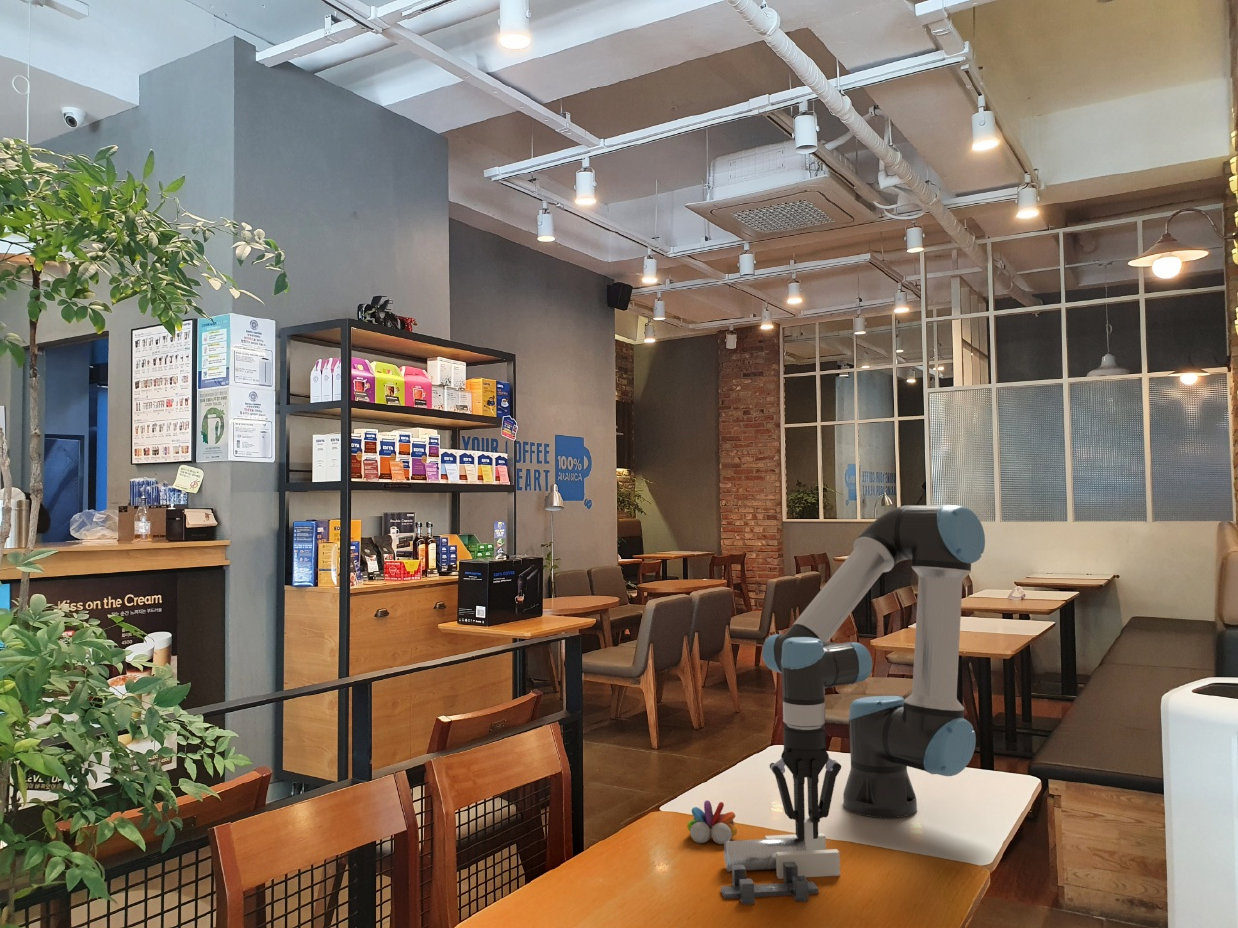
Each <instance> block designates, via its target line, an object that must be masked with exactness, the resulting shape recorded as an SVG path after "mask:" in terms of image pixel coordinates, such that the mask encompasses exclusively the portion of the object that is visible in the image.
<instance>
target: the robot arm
mask: <svg viewBox="0 0 1238 928" xmlns="http://www.w3.org/2000/svg"><path fill="white" fill-rule="evenodd" d="M985 547H986V537H985V531H984V527H983V525H982V522H981V520H980V519H979V518H978V516H977V514H976V513H975V512H974V511H973V510H972V509H970V508H969V507H966V506H963V505H954V504H953V505H952V504H934V505H933V504H932V505H931V504H930V505H929V504H927V505H925V504H924V505H914V504H911V505H909V504H908V505H902V506H897V507H895V508H893V509H890V510H888V511H887V512H885V513H884V514H882V515H880V516H879V517H878V518H876V519H875V520H874V521H872V523H870V524H869V526H867V527H866V528H865V529H864V530H863V531H862V532H861V534H860V535H858V537H857V538H856V539H855V540H854V543H853V551H852V552H851V553H850V554H849V555H848V556H847V558H846V559H845V560H844V561H843V562H842V564H841V565H840V567H839V568H838V569H837V570H836V571H835V572H834V573H833V574H832V576H831V577H830V578H829V580H828V581H827V582H826V583H825V585H823V587H822V589H820V591H819V592H818V593H817V594H816V595H815V596H814V598H813V599H812V600H811V602H810V603H809V604H808V605H807V606H806V607H805V609H804V610H803V611H802V613H800V615H799V616H798V618H797V619H796V620H795V621H794V622H793V624H792V625H791V627H789V629H787V631H786V632H785V634H784V633H779V634H778V633H776V634H772V635H770V636H768V637H767V638H766V639H765V641H764V643H763V646H762V651H761V653H762V654H761V656H762V660H763V663H764V664H765V666H766V668H768V669H769V670H771V671H774V672H776V673H779V674H781V680H782V681H781V683H782V684H781V685H782V686H781V687H782V717H783V718H782V721H783V723H784V725H783V727H782V729H783V731H782V733H783V750H782V752H781V756H780V757H781V758H780V759H779V760H777V761H776V762H770V764H769V769H770V770H771V772H772V773H773V774H774V776H775V780H776V784H777V788H778V792H779V795H780V798H781V799H780V800H781V803H782V807H783V811H784V813H785V815H786V816H787V817H788V818H789V819H790V820H795V821H794V822H795V823H794V824H795V825H794V826H795V834H796V836H797V838H798V839H799V840H804V841H805V845H806V849H807V851H811V850H814V848H813V839H817V838H818V833H819V823H820V821H821V819H822V818H828V816H829V814H830V809H831V804H832V799H833V794H834V788H835V784H836V778H837V776H838V775H839V773H840V771H841V769H842V765H841V764H840V763H839V762H838V761H837V760H835V759H832V758H831V757H830V756H829V755H830V754H829V753H828V751H827V739H826V738H827V737H826V736H827V734H826V727H825V723H826V705H825V704H826V703H825V701H826V700H825V699H826V698H825V696H826V695H825V693H826V691H825V689H829V688H834V687H839V686H841V687H842V686H846V685H854V684H856V683H860V682H863V681H866V680H867V679H868V678H869V676H871V674H872V671H873V659H872V656H871V653H870V651H869V650H868V648H867V647H866V646H865V645H863V644H862V643H859V642H857V641H856V642H850V641H846V642H843V643H837V642H836V643H835V642H829V641H830V640H831V638H832V637H833V636H834V635H835V633H836V632H837V631H838V630H839V629H840V628H841V626H842V625H843V623H844V622H845V621H846V620H847V619H848V617H849V616H850V615H851V613H852V612H853V611H854V610H855V609H856V607H857V605H858V604H859V603H860V602H861V601H862V599H863V598H864V597H865V596H866V594H867V593H868V592H869V590H870V589H871V588H872V586H873V585H874V584H875V582H877V580H878V579H879V578H880V577H881V575H882V574H883V573H888V572H890V571H892V569H893V568H894V567H895V566H896V565H897V564H898V563H899V562H903V561H906V560H907V561H908V560H910V561H911V568H912V570H913V571H914V572H915V573H916V574H917V577H918V584H917V585H918V586H917V599H916V600H917V601H916V616H915V621H916V622H915V635H914V638H915V639H914V655H913V671H912V672H913V673H912V688H911V689H912V691H911V693H910V694H909V696H907V697H905V699H904V697H903V696H899V695H898V696H897V695H878V696H877V695H873V696H866V697H861V698H856V699H854V700H853V701H852V702H851V703H850V705H849V717H848V727H849V730H848V731H849V750H850V752H849V753H850V755H849V756H850V770H849V774H848V777H847V779H846V784H845V786H844V789H843V796H842V797H843V799H842V800H843V807H844V808H845V809H847V810H848V811H850V812H853V813H854V814H857V815H862V816H865V817H866V816H867V817H873V818H883V819H885V818H886V819H889V818H890V819H893V818H894V819H896V818H903V817H907V816H911V815H913V814H915V813H916V811H917V809H918V807H917V806H918V805H917V800H918V799H917V796H916V794H915V793H916V792H915V791H914V787H913V785H912V781H911V779H910V776H909V773H908V769H907V768H908V767H910V768H912V769H913V768H914V769H917V770H920V771H923V772H927V773H928V774H930V775H938V776H943V777H952V776H956V775H958V774H960V773H961V772H963V770H965V769H966V767H967V765H969V763H970V762H971V759H972V757H973V755H974V752H975V748H976V742H977V739H976V732H975V730H974V727H973V724H972V723H971V721H968V720H967V719H965V718H964V716H965V707H964V706H963V705H962V703H961V702H960V701H959V699H958V698H957V695H958V676H959V658H960V657H959V655H960V640H961V639H960V634H961V617H962V614H961V613H962V600H963V599H962V596H963V595H962V594H963V581H964V579H966V577H967V576H969V575H970V574H971V573H972V564H974V563H976V562H978V561H979V560H980V559H981V558H982V554H983V553H985V552H984V550H985ZM785 766H786V767H787V769H788V770H789V771H790V773H791V774H792V779H793V802H792V798H791V795H790V791H789V787H788V783H787V780H786V777H785V775H784V774H785V772H786V769H785ZM824 767H825V769H826V770H825V773H824V778H823V783H822V787H821V792H820V797H819V782H820V780H819V778H820V777H819V775H820V773H821V772H822V770H823V769H824ZM805 779H806V780H805ZM806 781H807V784H806V785H807V815H808V817H805V816H806V815H805V782H806Z"/></svg>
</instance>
